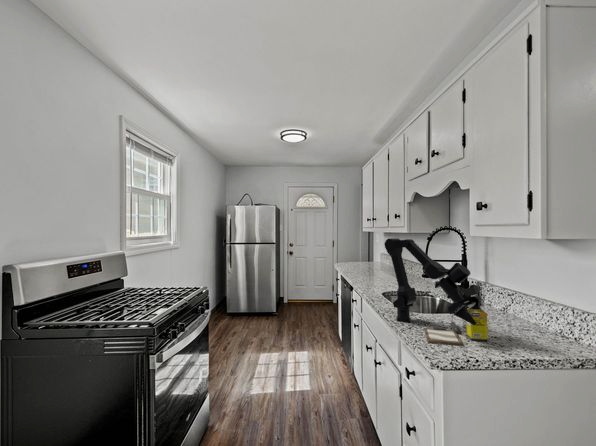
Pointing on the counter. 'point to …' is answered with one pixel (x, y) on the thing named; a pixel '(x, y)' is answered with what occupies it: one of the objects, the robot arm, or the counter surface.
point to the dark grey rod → (455, 328)
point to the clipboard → (442, 336)
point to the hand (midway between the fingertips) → (480, 322)
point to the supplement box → (477, 325)
